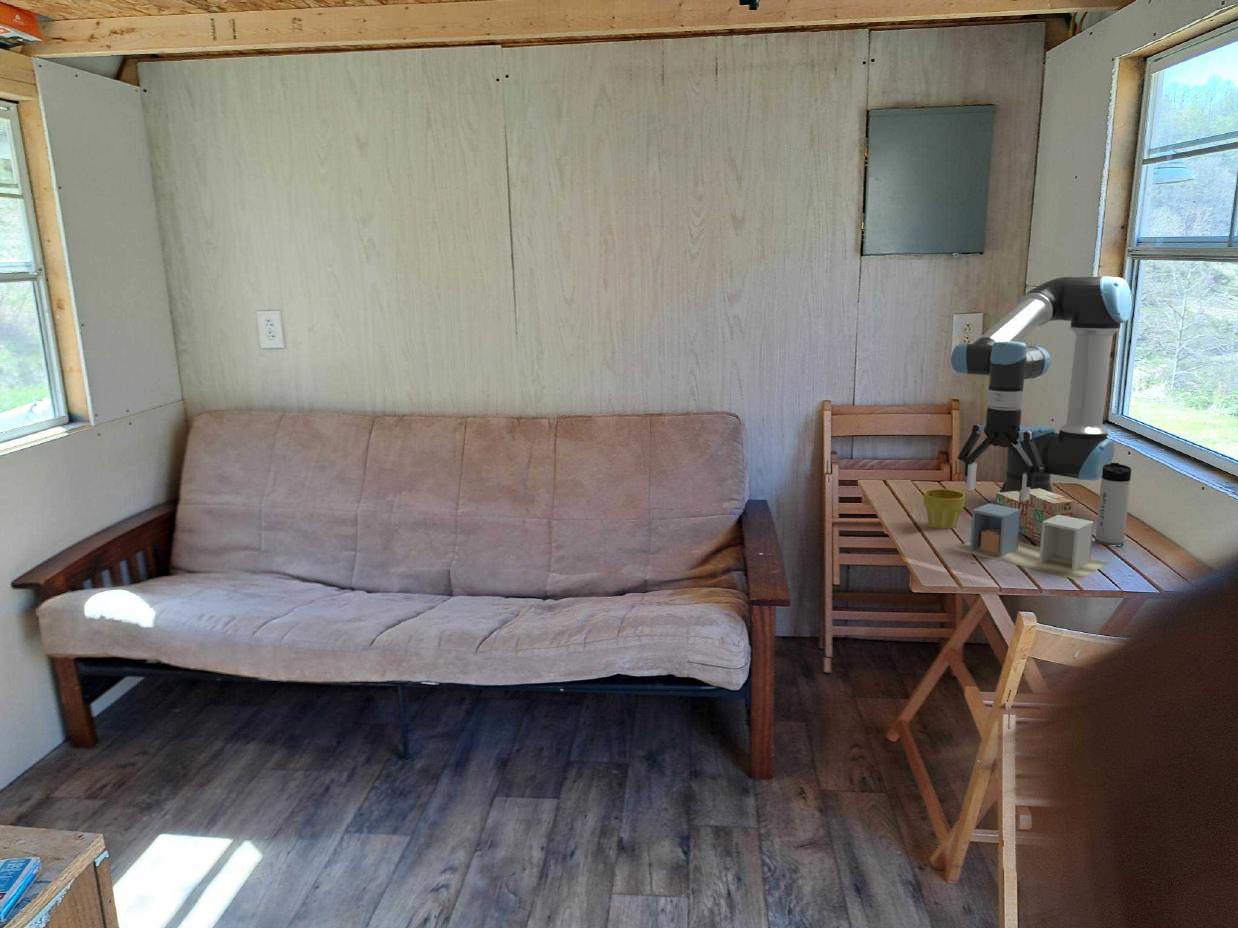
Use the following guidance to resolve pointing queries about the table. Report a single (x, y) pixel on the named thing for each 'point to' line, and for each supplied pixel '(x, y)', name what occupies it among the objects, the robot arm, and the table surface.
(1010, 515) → the hollow pale blue box
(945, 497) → the plant pot
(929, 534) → the table surface
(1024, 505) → the stack of blocks
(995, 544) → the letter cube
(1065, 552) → the box
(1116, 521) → the travel mug
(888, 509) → the table surface
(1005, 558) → the birch board
